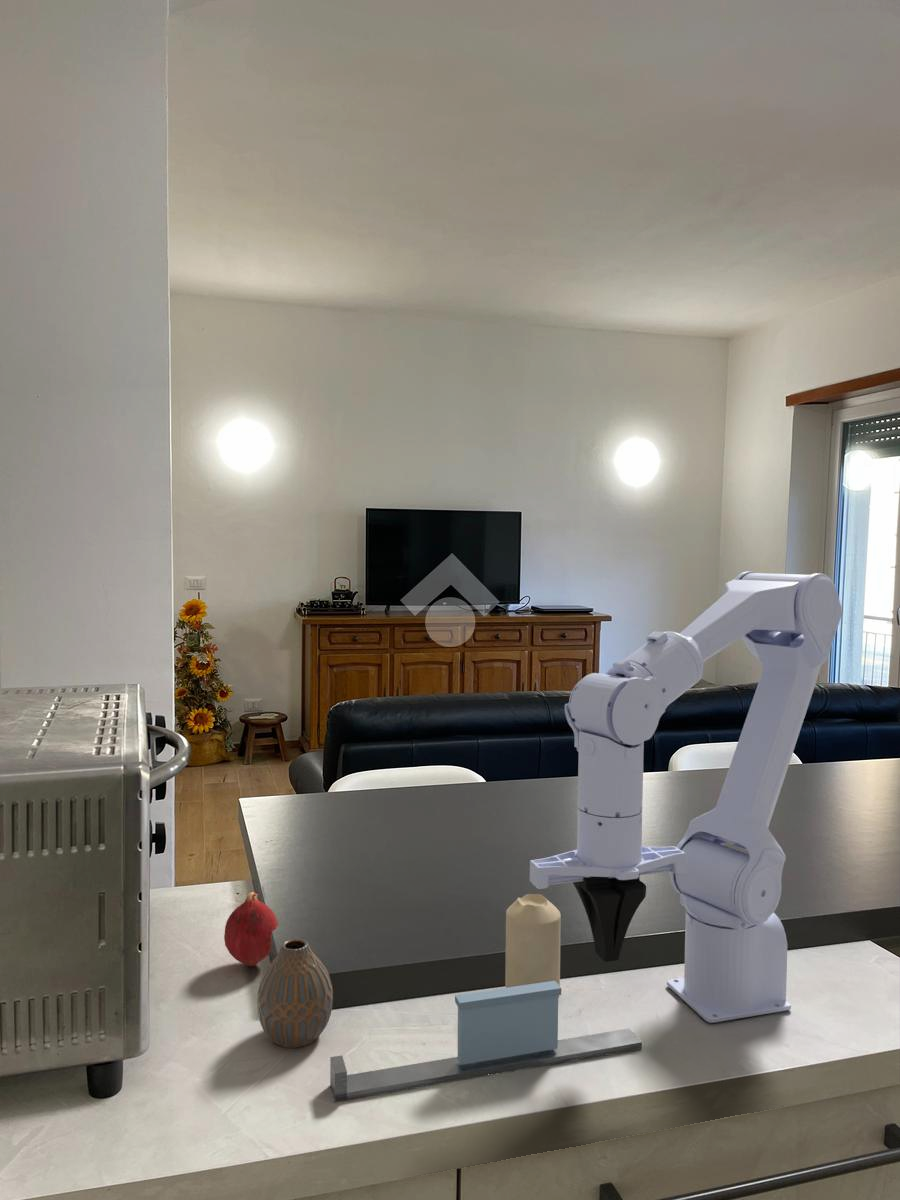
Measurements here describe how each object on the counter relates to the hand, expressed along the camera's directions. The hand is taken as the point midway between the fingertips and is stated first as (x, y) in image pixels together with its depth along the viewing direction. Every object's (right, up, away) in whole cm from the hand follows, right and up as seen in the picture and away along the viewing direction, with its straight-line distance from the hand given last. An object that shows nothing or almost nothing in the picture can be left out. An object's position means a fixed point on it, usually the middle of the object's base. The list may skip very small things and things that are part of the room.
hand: (607, 956), depth 79 cm
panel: (-9, -9, -2) cm, 13 cm away
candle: (-6, -8, +10) cm, 14 cm away
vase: (-29, -9, +2) cm, 30 cm away
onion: (-36, -8, +16) cm, 40 cm away
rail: (-11, -9, -3) cm, 14 cm away
